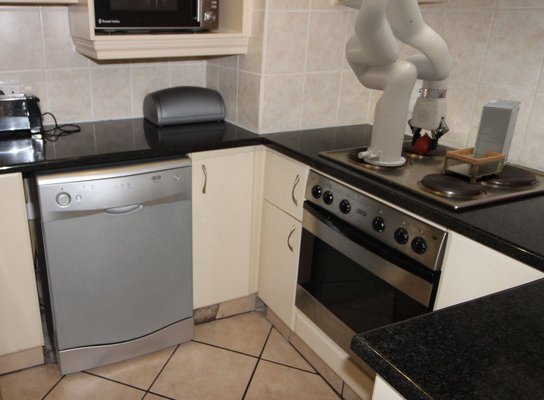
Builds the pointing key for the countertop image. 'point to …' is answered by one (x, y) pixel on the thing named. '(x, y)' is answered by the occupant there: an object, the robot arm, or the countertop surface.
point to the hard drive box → (496, 128)
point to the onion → (423, 144)
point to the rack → (473, 163)
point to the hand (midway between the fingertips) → (423, 147)
